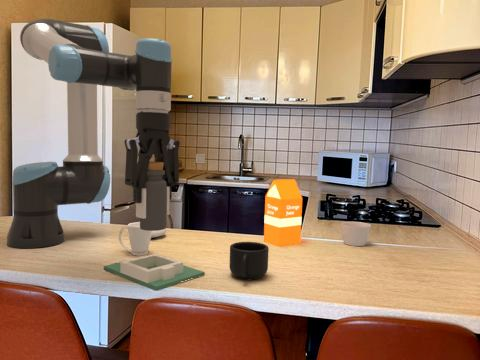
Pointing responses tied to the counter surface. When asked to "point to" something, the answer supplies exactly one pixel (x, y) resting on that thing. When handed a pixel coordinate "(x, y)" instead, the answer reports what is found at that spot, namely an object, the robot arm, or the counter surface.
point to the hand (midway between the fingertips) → (152, 215)
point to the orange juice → (283, 213)
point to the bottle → (154, 198)
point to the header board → (154, 271)
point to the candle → (355, 233)
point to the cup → (137, 239)
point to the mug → (249, 259)
